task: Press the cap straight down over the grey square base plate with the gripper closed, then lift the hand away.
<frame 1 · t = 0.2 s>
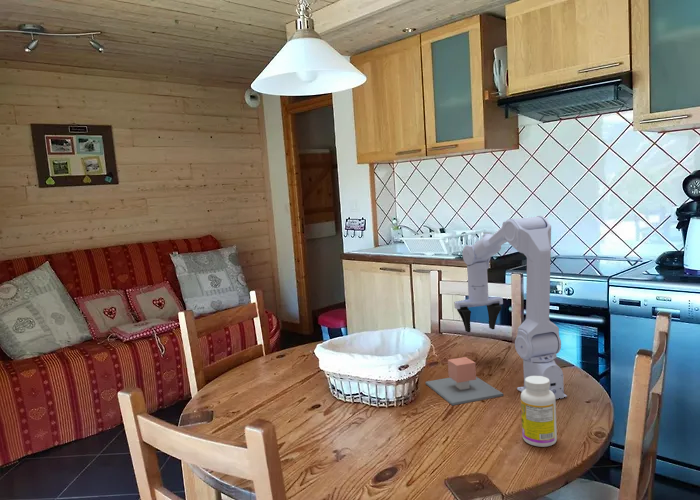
hand: (480, 330, 154), 10 cm above the table, tool pointing down, fingers open, 7 cm apart
grey square base plate: (462, 389, 135), on the table
cap: (461, 369, 134), point 5 cm above the table, slide at 2.5 cm
supplement bottle: (539, 441, 105), on the table
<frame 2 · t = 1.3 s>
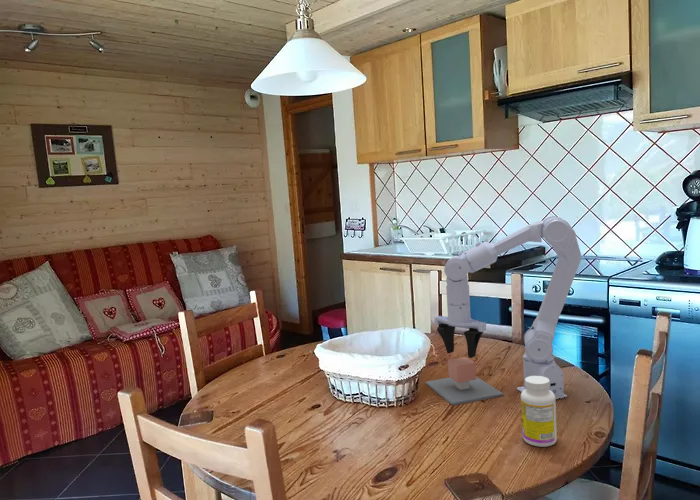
hand: (461, 354, 134), 9 cm above the table, tool pointing down, fingers open, 6 cm apart
nothing on the table moved.
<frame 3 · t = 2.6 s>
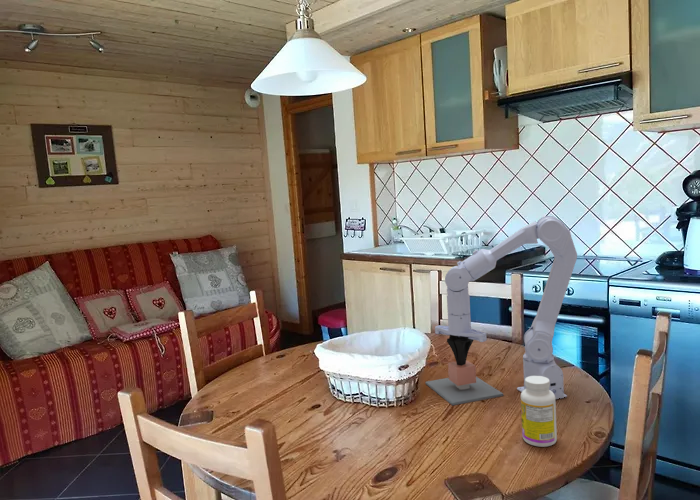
hand: (461, 364, 134), 7 cm above the table, tool pointing down, fingers closed, pressing on cap
cap: (461, 372, 134), point 5 cm above the table, slide at 1.7 cm, touching gripper
everything else where it was.
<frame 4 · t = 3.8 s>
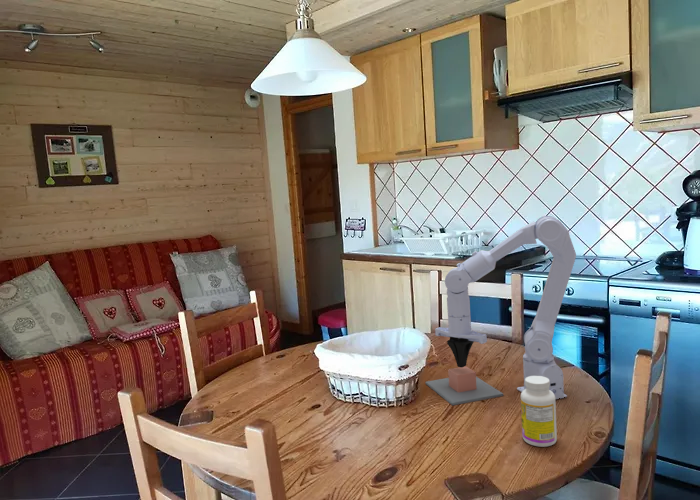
hand: (461, 366, 134), 6 cm above the table, tool pointing down, fingers closed
cap: (462, 379, 134), point 3 cm above the table, slide at -0.1 cm, touching grey square base plate
everything else where it was.
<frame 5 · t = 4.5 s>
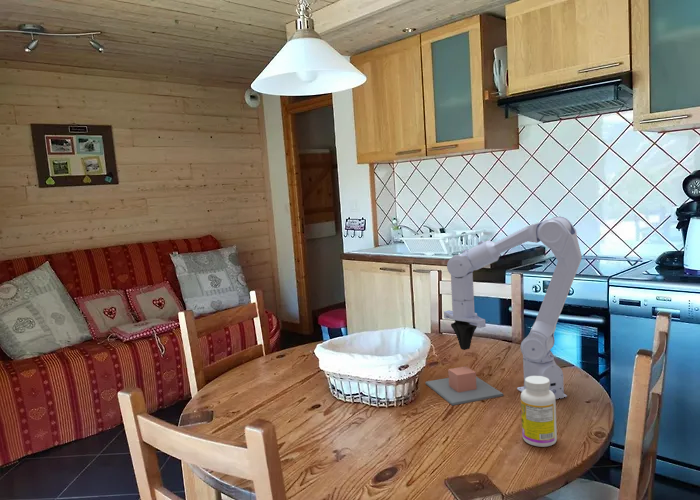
hand: (465, 348, 138), 9 cm above the table, tool pointing down, fingers closed
nothing on the table moved.
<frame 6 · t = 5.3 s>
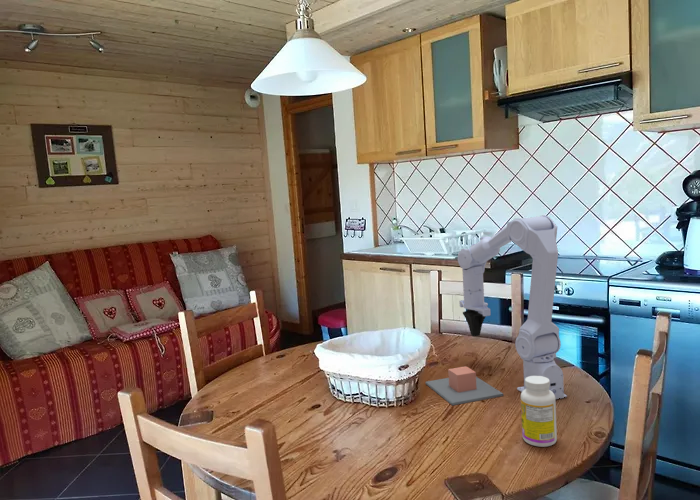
hand: (475, 335, 150), 9 cm above the table, tool pointing down, fingers closed
nothing on the table moved.
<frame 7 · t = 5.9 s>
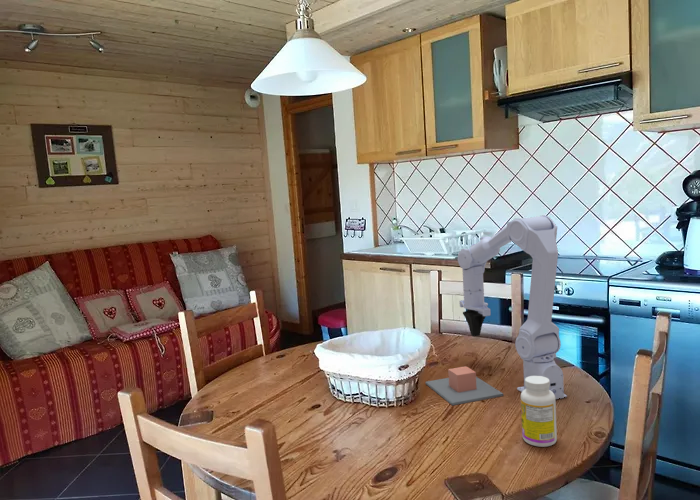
hand: (475, 335, 150), 9 cm above the table, tool pointing down, fingers closed
nothing on the table moved.
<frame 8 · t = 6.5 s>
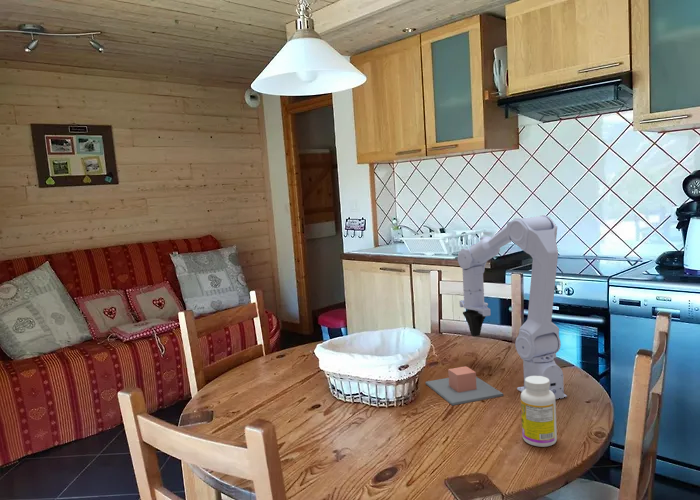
hand: (475, 335, 150), 9 cm above the table, tool pointing down, fingers closed
nothing on the table moved.
at the end: cap slide at -0.1 cm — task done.
